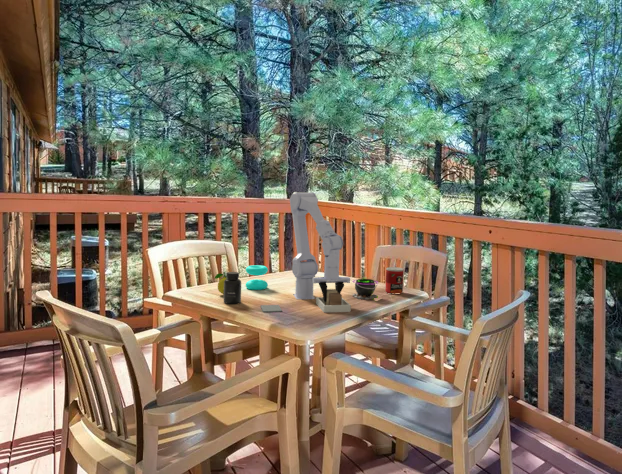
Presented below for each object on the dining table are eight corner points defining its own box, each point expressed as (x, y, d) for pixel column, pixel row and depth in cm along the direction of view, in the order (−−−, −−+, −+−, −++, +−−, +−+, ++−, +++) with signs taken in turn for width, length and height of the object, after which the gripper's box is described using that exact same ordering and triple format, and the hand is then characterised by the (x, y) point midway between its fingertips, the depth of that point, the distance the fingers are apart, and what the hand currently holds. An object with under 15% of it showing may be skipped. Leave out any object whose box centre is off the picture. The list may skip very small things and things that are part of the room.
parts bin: (315, 304, 199) (316, 297, 198) (340, 304, 201) (341, 296, 200) (323, 313, 185) (323, 305, 185) (350, 313, 187) (350, 305, 187)
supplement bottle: (228, 305, 194) (228, 274, 193) (220, 301, 200) (220, 272, 199) (244, 303, 198) (244, 273, 197) (236, 299, 204) (236, 270, 203)
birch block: (324, 304, 198) (325, 289, 197) (334, 304, 198) (334, 289, 198) (326, 306, 194) (327, 291, 193) (336, 306, 194) (337, 291, 194)
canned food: (391, 295, 220) (392, 270, 219) (381, 291, 227) (382, 267, 226) (406, 294, 223) (407, 269, 222) (396, 290, 230) (397, 266, 229)
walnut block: (328, 308, 191) (328, 292, 191) (338, 308, 192) (339, 292, 191) (330, 311, 187) (331, 295, 187) (341, 310, 188) (341, 295, 187)
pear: (214, 294, 213) (214, 270, 212) (227, 292, 217) (227, 269, 216) (220, 297, 208) (220, 273, 207) (233, 295, 211) (233, 272, 210)
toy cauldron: (363, 303, 203) (364, 276, 202) (339, 296, 215) (340, 271, 214) (390, 299, 212) (391, 273, 211) (366, 293, 224) (366, 268, 223)
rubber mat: (260, 306, 194) (260, 305, 194) (283, 305, 196) (283, 304, 196) (263, 312, 185) (263, 311, 185) (287, 311, 187) (287, 310, 187)
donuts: (253, 269, 220) (241, 265, 227) (253, 291, 221) (241, 287, 228) (272, 267, 226) (259, 264, 234) (272, 288, 227) (259, 285, 235)
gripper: (315, 268, 189) (314, 303, 191) (352, 268, 192) (351, 303, 193) (311, 265, 196) (311, 299, 197) (347, 265, 199) (346, 298, 200)
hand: (330, 301), depth 196 cm, fingers closed on birch block, 4 cm apart
